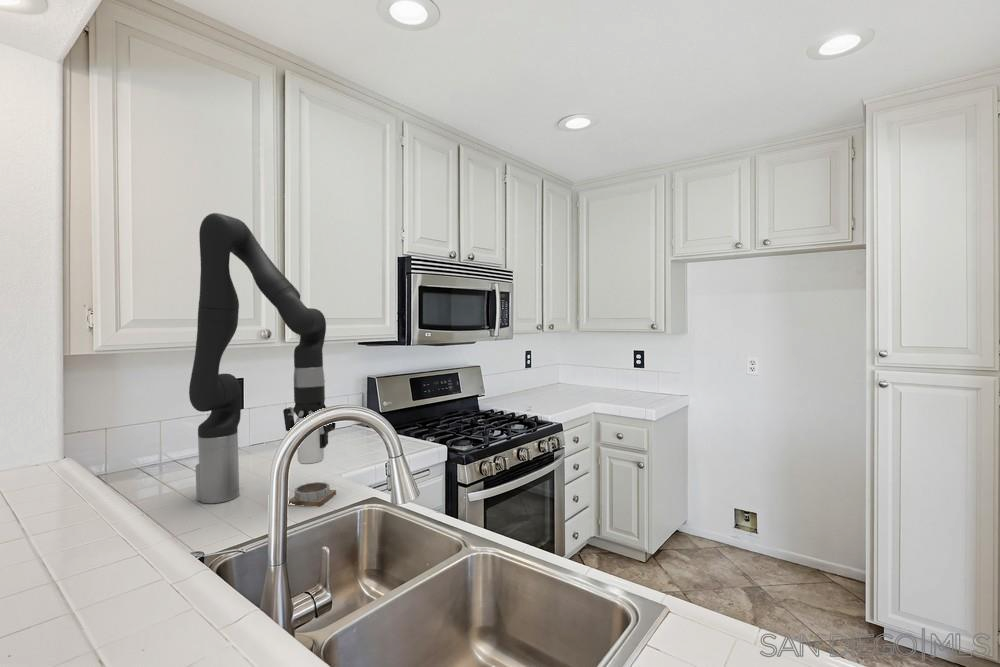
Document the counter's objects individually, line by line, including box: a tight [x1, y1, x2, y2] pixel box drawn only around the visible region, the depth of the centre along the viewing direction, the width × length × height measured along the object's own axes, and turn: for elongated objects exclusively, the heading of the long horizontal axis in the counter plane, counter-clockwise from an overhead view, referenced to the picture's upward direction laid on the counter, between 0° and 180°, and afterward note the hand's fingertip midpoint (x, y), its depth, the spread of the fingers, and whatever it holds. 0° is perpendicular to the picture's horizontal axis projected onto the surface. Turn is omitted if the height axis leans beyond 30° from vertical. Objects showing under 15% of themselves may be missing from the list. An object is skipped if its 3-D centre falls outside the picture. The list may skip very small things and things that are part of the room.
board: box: [288, 489, 337, 508], centre depth 129 cm, size 9×9×1 cm
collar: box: [294, 481, 331, 501], centre depth 129 cm, size 9×9×2 cm
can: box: [297, 417, 325, 465], centre depth 128 cm, size 6×6×12 cm
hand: (311, 447), depth 128 cm, fingers closed on can, 6 cm apart
